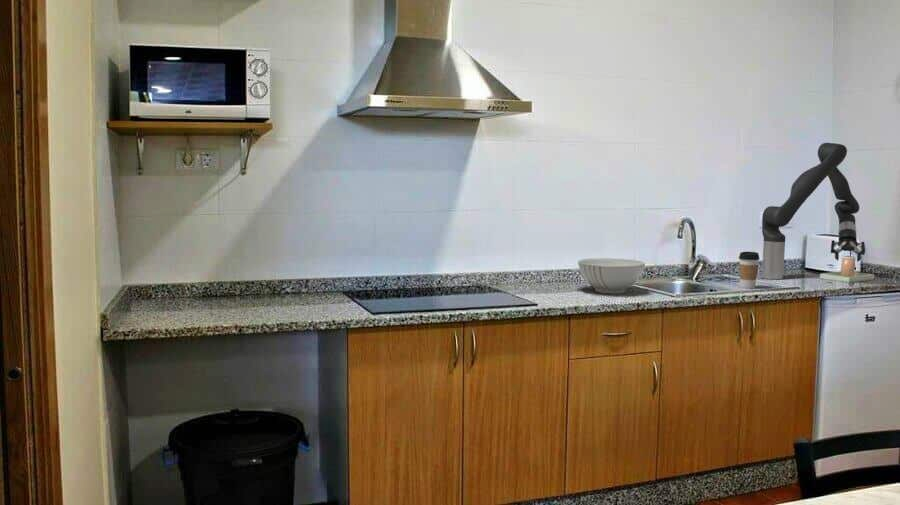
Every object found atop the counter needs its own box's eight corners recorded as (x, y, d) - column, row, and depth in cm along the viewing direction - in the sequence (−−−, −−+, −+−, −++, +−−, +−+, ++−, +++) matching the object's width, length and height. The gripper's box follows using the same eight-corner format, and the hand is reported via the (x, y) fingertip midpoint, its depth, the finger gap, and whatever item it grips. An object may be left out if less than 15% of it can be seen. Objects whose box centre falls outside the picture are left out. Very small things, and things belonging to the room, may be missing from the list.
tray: (848, 283, 347) (849, 277, 347) (819, 279, 359) (820, 273, 359) (873, 279, 358) (874, 274, 357) (844, 276, 369) (845, 270, 369)
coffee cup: (759, 287, 333) (761, 252, 332) (755, 289, 326) (757, 254, 324) (739, 285, 338) (741, 251, 336) (735, 287, 330) (736, 252, 329)
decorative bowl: (578, 295, 308) (578, 265, 306) (576, 285, 334) (577, 257, 333) (647, 297, 304) (648, 266, 303) (640, 287, 330) (641, 258, 329)
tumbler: (840, 278, 357) (842, 256, 356) (839, 276, 362) (841, 255, 361) (854, 279, 355) (856, 257, 354) (853, 277, 360) (854, 256, 359)
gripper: (831, 227, 368) (831, 253, 358) (865, 228, 362) (866, 255, 353) (829, 237, 373) (830, 264, 364) (863, 239, 368) (864, 265, 358)
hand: (848, 259), depth 358 cm, fingers open, 8 cm apart
